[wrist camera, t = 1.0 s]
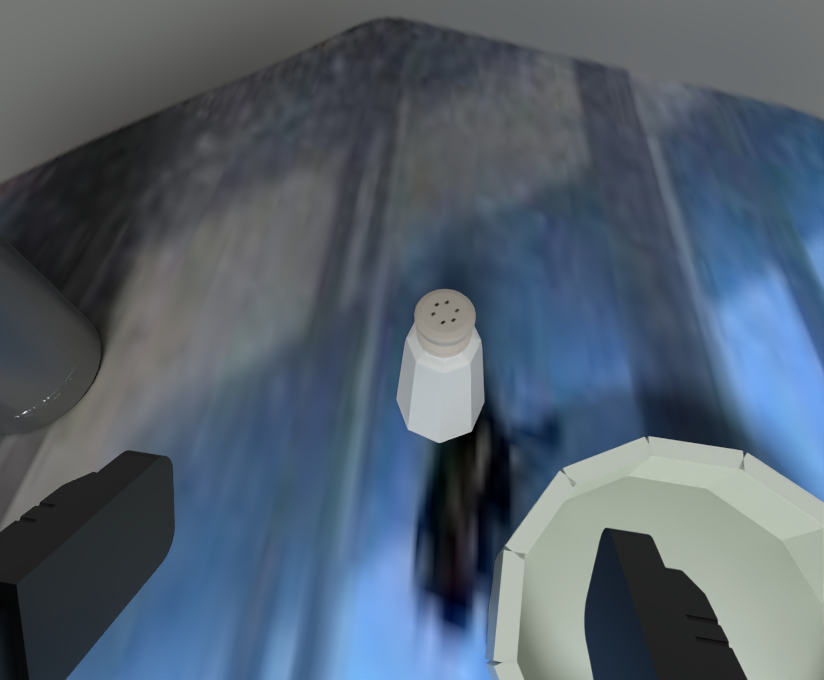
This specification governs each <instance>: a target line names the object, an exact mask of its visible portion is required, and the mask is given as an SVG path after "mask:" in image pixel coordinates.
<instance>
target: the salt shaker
mask: <svg viewBox="0 0 824 680" xmlns="http://www.w3.org/2000/svg"><path fill="white" fill-rule="evenodd" d="M414 318H415V322H414V324H413V326H412V328H411V330H410V332H409V334H408V336H407V338H406V341H405V345H404V352H403V358H402V365H401V372H400V378H399V385H398V392H397V398H396V400H397V402H398V405H399V408H400V410H401V413H402V416H403V418H404V421H405V423H406V426H407V429H408V430H410V431H413V432H415V433H417V434H419V435H422V436H424V437H426V438H429V439H431V440H433V441H435V442H438V443H441V442H444V441H447V440H450V439H452V438H455V437H458V436H461V435H463V434H466V433H469V432H471V431H472V429H473V427H474V425H475V422H476V420H477V418H478V415H479V413H480V411H481V408H482V406H483V404H484V382H483V356H482V343H481V339H480V337H479V335H478V332H477V330H476V328H475V326H474V324H475V319H476V313H475V308H474V306H473V304H472V302H471V301H470V300H469V299H468V298H467V297H466V296H465V295H463V294H462V293H460V292H457V291H455V290H450V289H438V290H435V291H432V292H429V293H428V294H426V295H424V296H423V297H422V298H421V299H420V300H419V302H418V304H417V305H416V307H415V312H414Z"/></svg>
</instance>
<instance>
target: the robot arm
mask: <svg viewBox="0 0 824 680" xmlns="http://www.w3.org/2000/svg"><path fill="white" fill-rule="evenodd" d="M100 358H101V342H100V339H99V335H98V332H97V330H96V329H95V327H94V325H93V324H92V322H91V321H90V320H89V319H88V318H87V317H86V316H85V315H84V314H83V313H81V312H80V311H79V310H78V309H77V308H76V307H75V306H74V305H73V304H72V303H71V302H70V301H69V300H68V299H67V298H66V297H65V296H64V295H63V294H62V293H61V292H60V291H59V290H58V289H57V288H56V287H55V286H54V285H53V284H52V283H51V282H50V281H49V280H48V279H47V278H45V277H44V276H43V275H42V274H41V273H40V272H39V271H38V270H37V269H36V268H35V267H34V266H33V265H32V264H31V263H30V262H29V261H28V260H27V259H26V258H25V257H23V256H22V255H21V254H20V253H19V252H18V251H17V250H16V249H15V248H14V247H13V246H12V245H11V244H10V243H9V242H8V241H7V240H6V239H5V238H4V237H3V236H1V235H0V434H1V435H12V434H19V433H25V432H28V431H31V430H34V429H38V428H41V427H43V426H44V425H46V424H48V423H50V422H52V421H54V420H56V419H57V418H59V417H60V416H62V415H63V414H64V413H66V412H67V411H68V410H70V409H71V408H72V407H73V406H74V405H75V404H76V403H77V402H78V401H79V400H80V399H81V398H82V397H83V395H84V394H85V392H86V391H87V389H88V388H89V387H90V385H91V384H92V382H93V380H94V377H95V375H96V373H97V371H98V367H99V363H100ZM174 530H175V519H174V488H173V466H172V462H171V460H170V459H169V458H168V457H167V456H161V455H155V454H149V453H143V452H136V451H130V450H129V451H125V452H123V453H122V454H120V455H119V456H118V457H116V458H115V459H114V460H113V461H111V462H110V463H109V464H107V465H106V466H105V467H104V468H102V469H101V470H100V471H99V472H97V473H96V472H92V473H89V474H87V475H85V476H83V477H80V478H78V479H76V480H73V481H71V482H69V483H66V484H64V485H62V486H61V487H60V488H58V489H57V490H56V491H54V492H53V493H52V494H50V495H49V496H48V497H46V498H45V499H44V500H42V501H41V502H40V504H39V506H34V507H33V508H32V509H30V510H29V511H28V512H26V513H25V514H24V515H22V516H21V518H20V520H19V521H14V522H13V523H12V524H10V525H9V526H8V527H6V528H5V529H4V530H2V531H1V532H0V680H66V678H67V677H68V676H69V675H70V674H71V672H72V671H73V670H74V669H75V667H76V666H77V665H78V664H79V663H80V661H81V660H82V659H83V658H84V657H85V655H86V654H87V653H88V652H89V651H90V649H91V648H92V647H93V646H94V644H95V643H96V642H97V641H98V640H99V638H100V637H101V636H102V635H103V634H104V632H105V631H106V630H107V629H108V627H109V626H110V625H111V624H112V623H113V621H114V620H115V619H116V618H117V617H118V615H119V614H120V613H121V612H122V611H123V609H124V608H125V607H126V606H127V604H128V603H129V602H130V601H131V600H132V598H133V597H134V596H135V595H136V594H137V592H138V591H139V590H140V589H141V587H142V586H143V585H144V584H145V583H146V581H147V580H148V579H149V578H150V577H151V575H152V574H153V573H154V572H155V571H156V569H157V568H158V567H159V566H160V564H161V563H162V562H163V561H164V559H165V557H166V556H167V554H168V552H169V549H170V547H171V544H172V541H173V536H174ZM584 631H585V639H586V644H587V649H588V654H589V660H590V665H591V670H592V675H593V680H748V679H747V677H746V675H745V673H744V671H743V669H742V667H741V665H740V663H739V661H738V659H737V657H736V655H735V653H734V651H733V649H732V648H730V647H729V641H728V639H727V637H726V635H725V633H724V631H723V629H722V627H721V625H718V619H717V617H716V615H715V613H714V610H713V608H712V606H711V604H710V602H709V600H708V598H707V596H706V594H705V593H704V592H703V591H702V590H701V589H700V588H699V587H698V586H697V585H696V584H695V583H694V582H693V581H692V580H691V579H690V578H689V577H688V576H687V575H686V574H685V573H684V572H683V571H682V570H678V569H672V568H666V567H665V565H664V563H663V560H662V558H661V556H660V553H659V551H658V549H657V546H656V544H655V542H654V540H653V538H652V536H651V535H649V534H643V533H637V532H631V531H625V530H618V529H612V528H605V529H604V530H603V532H602V534H601V537H600V541H599V545H598V550H597V554H596V558H595V563H594V567H593V571H592V576H591V580H590V584H589V588H588V593H587V597H586V603H585V612H584Z"/></svg>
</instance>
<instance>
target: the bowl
mask: <svg viewBox="0 0 824 680" xmlns="http://www.w3.org/2000/svg"><path fill="white" fill-rule="evenodd" d="M605 528H612V529H618V530H625V531H631V532H637V533H643V534H649V535H651V536H652V538H653V540H654V542H655V544H656V546H657V549H658V551H659V553H660V556H661V558H662V560H663V563H664V565H665V567H666V568H672V569H678V570H682V571H683V572H684V573H685V574H686V575H687V576H688V577H689V578H690V579H691V580H692V581H693V582H694V583H695V584H696V585H697V586H698V587H699V588H700V589H701V590H702V591H703V592H704V593H705V594H706V596H707V598H708V600H709V602H710V604H711V606H712V608H713V610H714V613H715V615H716V617H717V619H718V625H721V627H722V629H723V631H724V633H725V635H726V637H727V639H728V641H729V647H730V648H732V649H733V651H734V653H735V655H736V657H737V659H738V661H739V663H740V665H741V667H742V669H743V671H744V673H745V675H746V677H747V679H748V680H824V502H822V501H821V500H819V499H818V498H816V497H815V496H813V495H812V494H810V493H809V492H807V491H805V490H804V489H802V488H801V487H799V486H798V485H796V484H795V483H793V482H792V481H790V480H789V479H787V478H786V477H784V476H783V475H781V474H780V473H778V472H776V471H775V470H773V469H772V468H770V467H769V466H767V465H766V464H764V463H763V462H761V461H760V460H758V459H757V458H755V457H754V456H752V455H751V454H749V453H746V454H744V455H743V451H742V450H735V449H729V448H722V447H716V446H709V445H703V444H696V443H690V442H683V441H677V440H670V439H664V438H657V437H651V436H648V437H647V438H645V437H642V438H640V439H637V440H634V441H632V442H629V443H627V444H624V445H621V446H619V447H616V448H614V449H611V450H608V451H606V452H603V453H601V454H598V455H595V456H593V457H590V458H588V459H585V460H582V461H580V462H577V463H575V464H572V465H569V466H567V467H564V468H563V469H562V470H561V471H559V472H558V473H557V475H556V476H555V477H554V478H553V480H552V481H551V482H550V483H549V485H548V486H547V487H546V489H545V490H544V491H543V493H542V494H541V495H540V497H539V498H538V500H537V501H536V502H535V504H534V505H533V507H532V508H531V509H530V511H529V512H528V513H527V515H526V516H525V518H524V519H523V520H522V522H521V523H520V524H519V526H518V527H517V529H516V530H515V531H514V533H513V534H512V536H511V537H510V538H509V540H508V541H507V542H506V544H505V545H504V547H503V548H502V549H501V551H500V552H499V553H498V555H497V556H496V557H497V558H496V560H495V564H494V574H493V584H492V589H491V595H490V601H489V607H488V626H487V643H486V653H485V658H486V659H489V662H487V663H486V666H487V668H488V671H489V674H490V676H491V679H492V680H593V675H592V670H591V665H590V660H589V654H588V649H587V644H586V639H585V631H584V612H585V603H586V597H587V593H588V588H589V584H590V580H591V576H592V571H593V567H594V563H595V558H596V554H597V550H598V545H599V541H600V537H601V534H602V532H603V530H604V529H605Z"/></svg>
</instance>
